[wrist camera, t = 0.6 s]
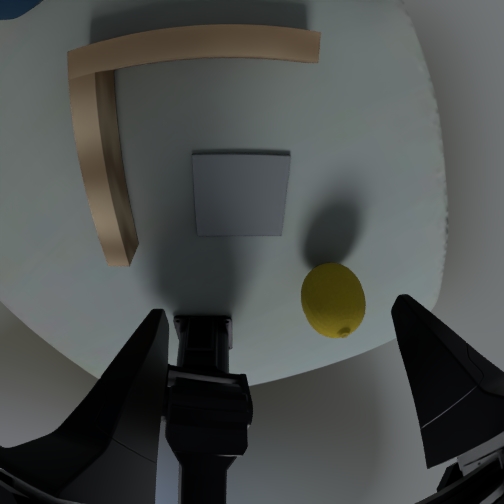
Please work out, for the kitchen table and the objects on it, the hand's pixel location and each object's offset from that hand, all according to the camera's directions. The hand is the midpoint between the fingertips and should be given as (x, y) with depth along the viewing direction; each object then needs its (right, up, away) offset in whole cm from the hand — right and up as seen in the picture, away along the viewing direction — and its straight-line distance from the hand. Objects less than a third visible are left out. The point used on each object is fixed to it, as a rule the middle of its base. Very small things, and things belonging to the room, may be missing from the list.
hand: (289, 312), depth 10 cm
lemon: (+5, +1, +17) cm, 18 cm away
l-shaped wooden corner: (-6, +9, +9) cm, 14 cm away
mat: (-2, +6, +11) cm, 13 cm away
